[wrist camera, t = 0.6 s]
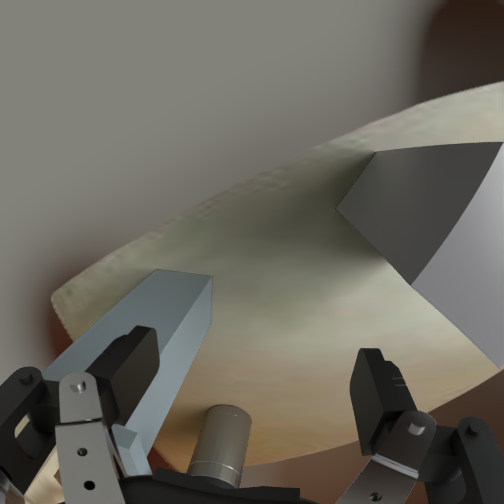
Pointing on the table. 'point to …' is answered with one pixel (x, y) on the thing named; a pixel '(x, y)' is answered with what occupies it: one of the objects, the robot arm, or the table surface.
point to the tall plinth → (169, 343)
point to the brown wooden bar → (44, 478)
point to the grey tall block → (441, 229)
